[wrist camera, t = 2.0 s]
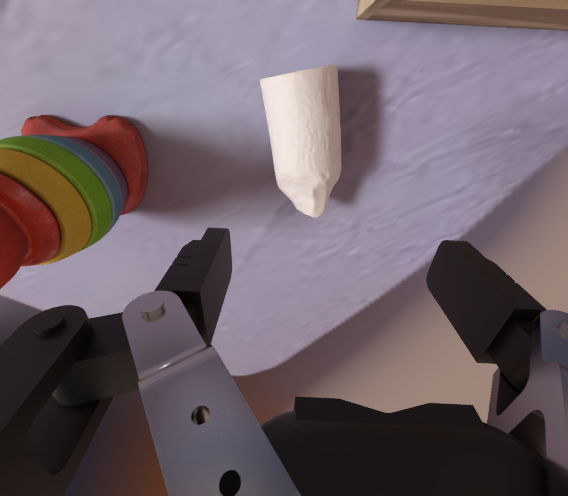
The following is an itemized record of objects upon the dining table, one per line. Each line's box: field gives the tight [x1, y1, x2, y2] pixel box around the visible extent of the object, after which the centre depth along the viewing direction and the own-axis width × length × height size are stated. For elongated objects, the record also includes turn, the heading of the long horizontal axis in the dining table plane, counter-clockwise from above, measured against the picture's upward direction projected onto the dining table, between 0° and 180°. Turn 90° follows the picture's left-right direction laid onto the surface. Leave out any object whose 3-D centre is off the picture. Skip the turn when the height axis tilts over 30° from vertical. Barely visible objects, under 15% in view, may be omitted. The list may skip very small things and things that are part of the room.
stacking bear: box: [0, 115, 147, 288], centre depth 20 cm, size 11×10×18 cm
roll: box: [260, 65, 341, 218], centre depth 23 cm, size 6×12×6 cm, turn 9°
